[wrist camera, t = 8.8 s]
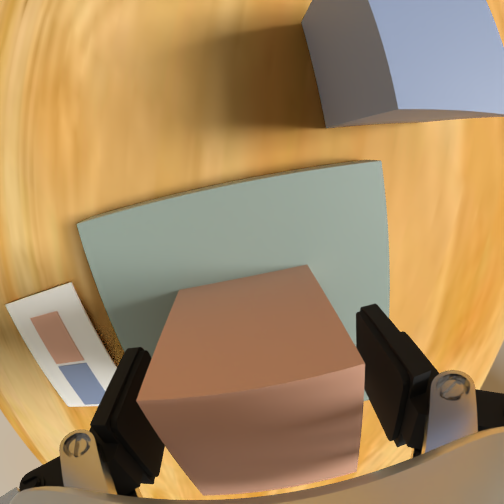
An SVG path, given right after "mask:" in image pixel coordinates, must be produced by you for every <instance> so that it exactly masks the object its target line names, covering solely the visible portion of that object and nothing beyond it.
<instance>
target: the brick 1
mask: <svg viewBox="0 0 504 504" xmlns="http://www.w3.org/2000/svg"><path fill="white" fill-rule="evenodd" d="M364 382H365V362H364V360H363V359H362V357H361V355H360V353H359V352H358V350H357V348H356V346H355V345H354V343H353V341H352V339H351V337H350V336H349V334H348V332H347V331H346V329H345V327H344V325H343V324H342V322H341V320H340V318H339V317H338V315H337V313H336V312H335V310H334V308H333V306H332V305H331V303H330V301H329V300H328V298H327V296H326V295H325V293H324V291H323V290H322V288H321V286H320V285H319V283H318V281H317V280H316V278H315V276H314V275H313V273H312V271H311V270H310V268H309V266H308V265H302V266H297V267H293V268H288V269H283V270H278V271H273V272H268V273H263V274H258V275H253V276H248V277H243V278H238V279H233V280H228V281H223V282H218V283H213V284H207V285H202V286H197V287H192V288H186V289H181V290H179V291H178V294H177V296H176V299H175V301H174V303H173V306H172V308H171V311H170V313H169V316H168V318H167V321H166V323H165V326H164V328H163V331H162V333H161V336H160V338H159V341H158V343H157V346H156V349H155V351H154V354H153V356H152V359H151V362H150V364H149V367H148V370H147V372H146V375H145V378H144V380H143V383H142V386H141V389H140V391H139V394H138V397H137V400H136V401H137V403H138V405H139V406H140V408H141V410H142V411H143V413H144V414H145V416H146V418H147V419H148V421H149V422H150V424H151V426H152V427H153V429H154V430H155V432H156V433H157V435H158V436H159V438H160V439H161V441H162V442H163V443H164V445H165V446H166V448H167V449H168V451H169V452H170V453H171V455H172V456H173V458H174V459H175V460H176V462H177V463H178V464H179V466H180V467H181V468H182V470H183V471H184V472H185V473H186V475H187V476H188V477H189V479H190V480H191V481H192V482H193V484H194V485H195V486H196V487H197V488H198V490H199V491H200V492H201V493H202V494H203V495H227V494H241V493H251V492H260V491H268V490H275V489H282V488H288V487H294V486H299V485H304V484H309V483H314V482H319V481H323V480H327V479H331V478H335V477H339V476H343V475H346V474H350V473H353V472H356V471H357V464H358V456H359V448H360V438H361V428H362V416H363V401H364Z"/></svg>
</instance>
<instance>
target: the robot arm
mask: <svg viewBox="0 0 504 504" xmlns="http://www.w3.org/2000/svg"><path fill="white" fill-rule="evenodd" d="M356 348H357V350H358V352H359V353H360V355H361V357H362V359H363V360H364V362H365V382H364V390H365V392H366V394H367V396H368V398H369V400H370V402H371V404H372V406H373V408H374V410H375V412H376V414H377V417H378V419H379V421H380V423H381V425H382V427H383V429H384V431H385V434H386V436H387V438H388V440H389V441H392V440H394V442H395V444H396V446H397V447H399V446H402V445H404V444H407V446H408V447H411V448H412V454H411V459H409V460H406V461H404V462H401V463H398V464H396V465H393V466H390V467H387V468H384V469H381V470H378V471H375V472H372V473H369V474H366V475H363V476H359V477H356V478H352V479H349V480H345V481H341V482H338V483H334V484H329V485H325V486H321V487H316V488H311V489H306V490H301V491H295V492H290V493H283V494H277V495H269V496H261V497H252V498H241V499H225V500H166V499H151V498H143V497H142V494H141V492H140V490H139V486H140V483H144V484H154V479H155V477H157V476H158V475H159V472H160V467H161V462H162V457H163V452H164V447H165V445H164V443H163V442H162V441H161V439H160V438H159V436H158V435H157V433H156V432H155V430H154V429H153V427H152V426H151V424H150V422H149V421H148V419H147V418H146V416H145V414H144V413H143V411H142V410H141V408H140V406H139V405H138V403H137V401H136V400H137V397H138V394H139V391H140V389H141V386H142V383H143V380H144V378H145V375H146V372H147V370H148V367H149V364H150V362H151V359H152V358H151V356H150V354H149V352H148V351H147V350H144V349H143V348H142V347H135V348H128V349H126V351H125V353H124V355H123V357H122V359H121V361H120V363H119V365H118V367H117V369H116V371H115V373H114V375H113V377H112V379H111V381H110V383H109V385H108V387H107V389H106V391H105V393H104V396H103V398H102V400H101V402H100V404H99V406H98V408H97V411H96V413H95V415H94V417H93V419H92V421H91V424H90V425H91V428H90V431H87V430H75V431H73V432H71V433H69V434H68V435H66V436H65V437H64V439H63V440H62V441H61V444H60V449H59V451H60V456H59V457H57V458H55V459H53V460H51V461H49V462H48V463H46V464H44V465H42V466H40V467H38V468H36V469H34V470H32V471H30V472H29V473H27V474H26V475H25V476H24V477H23V478H22V480H21V482H20V487H19V488H20V489H18V488H17V487H16V488H14V489H13V490H11V491H9V492H8V493H6V494H5V495H3V496H1V497H0V504H504V394H502V393H494V392H488V391H482V390H476V389H475V385H474V382H473V380H472V378H471V377H470V376H469V375H467V374H466V373H464V372H461V371H456V370H450V371H445V372H442V373H440V374H439V372H438V371H437V370H436V369H435V367H434V366H433V365H432V364H431V362H430V361H429V360H428V359H427V358H426V356H425V355H424V354H423V353H422V351H421V350H420V349H419V348H418V347H417V345H416V344H415V343H414V342H413V340H412V339H411V338H410V337H409V336H408V335H407V334H406V333H405V332H400V331H399V330H398V329H397V328H396V326H395V325H394V324H393V323H392V321H391V320H390V319H389V318H388V317H387V316H386V314H385V313H384V312H383V311H382V310H381V308H380V307H379V306H378V305H377V304H371V305H367V306H363V307H361V308H360V312H357V313H356Z"/></svg>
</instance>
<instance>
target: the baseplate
mask: <svg viewBox="0 0 504 504" xmlns="http://www.w3.org/2000/svg"><path fill="white" fill-rule="evenodd" d="M77 228H78V231H79V234H80V238H81V241H82V244H83V248H84V251H85V254H86V257H87V260H88V263H89V266H90V269H91V272H92V275H93V277H94V280H95V283H96V286H97V288H98V291H99V294H100V296H101V299H102V301H103V304H104V307H105V309H106V311H107V314H108V316H109V319H110V321H111V323H112V326H113V328H114V330H115V333H116V335H117V337H118V339H119V342H120V344H121V346H122V348H123V350H124V352H125V351H126V349H128V348H135V347H142V348H143V349H144V350H147V351H148V352H149V354H150V356H151V358H152V356H153V354H154V351H155V349H156V346H157V343H158V341H159V338H160V336H161V333H162V331H163V328H164V326H165V323H166V321H167V318H168V316H169V313H170V311H171V308H172V306H173V303H174V301H175V299H176V296H177V294H178V291H179V290H181V289H186V288H192V287H197V286H202V285H207V284H213V283H218V282H223V281H228V280H233V279H238V278H243V277H248V276H253V275H258V274H263V273H268V272H273V271H278V270H283V269H288V268H293V267H297V266H302V265H308V266H309V268H310V270H311V271H312V273H313V275H314V276H315V278H316V280H317V281H318V283H319V285H320V286H321V288H322V290H323V291H324V293H325V295H326V296H327V298H328V300H329V301H330V303H331V305H332V306H333V308H334V310H335V312H336V313H337V315H338V317H339V318H340V320H341V322H342V324H343V325H344V327H345V329H346V331H347V332H348V334H349V336H350V337H351V339H352V341H353V343H354V345H355V346H356V313H357V312H360V308H361V307H363V306H367V305H371V304H377V305H378V306H379V307H380V308H381V310H382V311H383V312H384V313H385V314H386V316H387V317H388V318H389V291H390V279H389V241H388V224H387V210H386V199H385V188H384V179H383V171H382V163H381V161H377V160H359V161H351V162H344V163H337V164H329V165H323V166H316V167H309V168H303V169H297V170H291V171H285V172H279V173H274V174H268V175H263V176H257V177H252V178H247V179H242V180H237V181H232V182H227V183H222V184H217V185H213V186H208V187H204V188H199V189H195V190H190V191H186V192H182V193H178V194H173V195H169V196H165V197H161V198H157V199H153V200H149V201H146V202H142V203H138V204H134V205H131V206H127V207H123V208H120V209H116V210H112V211H109V212H105V213H102V214H99V215H95V216H92V217H90V218H88V219H86V220H84V221H82V222H80V223H77ZM366 400H369V398H368V396H367V394H366V392H365V390H364V401H366Z"/></svg>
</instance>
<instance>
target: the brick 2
mask: <svg viewBox="0 0 504 504" xmlns="http://www.w3.org/2000/svg"><path fill="white" fill-rule="evenodd" d="M301 23H302V27H303V30H304V34H305V37H306V41H307V45H308V49H309V53H310V57H311V61H312V65H313V69H314V73H315V77H316V82H317V86H318V91H319V95H320V100H321V105H322V110H323V115H324V120H325V125H326V128H335V127H345V126H356V125H369V124H385V123H408V122H430V121H440V120H451V119H464V118H481V117H504V47H503V44H502V41H501V38H500V35H499V32H498V29H497V27H496V24H495V21H494V19H493V16H492V14H491V11H490V9H489V6H488V4H487V2H486V0H312V2H311V4H310V6H309V8H308V10H307V12H306V14H305V16H304V18H303V20H302V22H301Z"/></svg>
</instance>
